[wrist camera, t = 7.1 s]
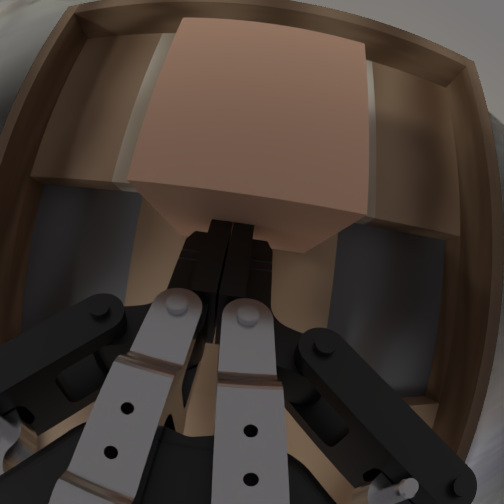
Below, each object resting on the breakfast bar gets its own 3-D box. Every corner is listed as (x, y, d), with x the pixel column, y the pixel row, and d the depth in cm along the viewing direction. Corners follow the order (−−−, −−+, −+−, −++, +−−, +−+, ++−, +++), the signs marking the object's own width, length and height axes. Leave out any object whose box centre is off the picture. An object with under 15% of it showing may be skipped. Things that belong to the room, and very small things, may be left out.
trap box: (29, 492, 14) (-2, 520, 9) (90, 46, 19) (68, 6, 14) (378, 543, 15) (401, 579, 10) (441, 95, 19) (473, 61, 15)
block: (180, 235, 15) (126, 180, 7) (203, 126, 16) (182, 17, 8) (303, 253, 15) (366, 215, 8) (314, 142, 16) (364, 43, 8)
